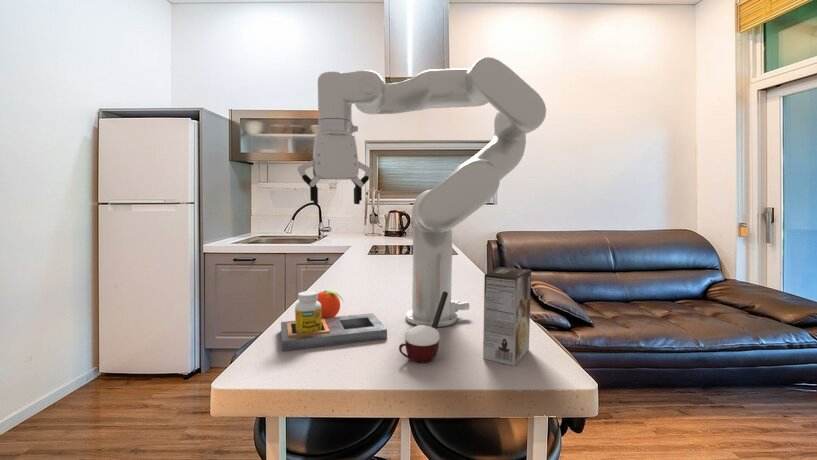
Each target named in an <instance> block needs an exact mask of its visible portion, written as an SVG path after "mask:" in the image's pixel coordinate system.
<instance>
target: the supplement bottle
mask: <svg viewBox="0 0 817 460" xmlns="http://www.w3.org/2000/svg"><path fill="white" fill-rule="evenodd" d="M318 293H319V292H317V291H314V290H306V291H301V292H299V293H298V295H297V300H298V302H297V303H296V305H295V306H294V308H295V309H294V315H295V316H294V318H295V321H296V333H304V332H314V331H322V317H321V304H320V302H318V301H317V299H318Z"/></svg>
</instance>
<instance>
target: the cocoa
mask: <svg viewBox="0 0 817 460" xmlns="http://www.w3.org/2000/svg"><path fill="white" fill-rule="evenodd" d="M447 296H448V293H447V292H445V291H444V292H443V293H442V296H441V299H440V302H439V305H438V308H437V312H436V315H435V318H434V321H433V324H432V327H431V326H425V325H415V326H413V327H411V328H409V329H407V330H406V331H405V333H404V337H405V341H404V343H401V344H400V345H399V347H398V351H399V353H400V354H401V355H402V356H404V357H405V358H407V359H410V360H412V361H414V362H416V363H422V364H423V363H424V364H425V363H428V362H431V361H433V359H435V358H436V356H437V354H438V352H439V347H440V346H439V344H440V343H439V342H440V332H439V331H438V328H439V327H438V324H439V321H440V318H441V314H442V311H443V308H444V305H445V302H446V299H447ZM403 347H405V350H406V353H404V352H403V350H402V348H403Z"/></svg>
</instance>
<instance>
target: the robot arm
mask: <svg viewBox="0 0 817 460" xmlns="http://www.w3.org/2000/svg"><path fill="white" fill-rule="evenodd" d="M353 104H354V105H355V107H356V108H357V110H358V111H360V112H361V113H364V114H366V115H396V114H404V113H409V112H417V111H423V110H428V109H445V108H473V107H481V106H484V105H487V104H490V105H491V106H492V107H494V109H495V110H497V112H496V114H495V116H494V119H493V120H494V123H493V125H494V129H493V130H494V134H493V138H492V139H491V141H490V142H489V143H487V145H486V146H484V147H483V148H482V149H481V150H480V151H478V152H477V153H476V154H474V155H473V156H472V157H471V158H469V159H467V160H466V161H465V162H463V163H461V164H459V165H458V166H457V167H456V168H455V169H454V170H453V171H452V173H451V174H450V175H449V176H448V177H446V178H445V179H444V180H442V181H441V182H440V183H439V184H437V185H436V186H435V187H433V188H432V189H427V190H424V191H423V192H421V193H420V194H418V195H417V196H416V198H415V200H414V202H413V204H412V209H411V226H412V228H411V229H412V292H411V293H412V299H411V300H412V302H411V303H412V304H411V305H412V306H411V307H412V309H411V310H408V311H407V312H406V313H405V320H406V321H407V322H408V323H410V324H413V325H415V326H418V325H425V326H431V327H432V324H433V321H434V318H435V315H436V312H437V308H438V305H439V302H440V299H441V296H442V293H443V292H444V291H445V292H447V293H448V296H447V299H446V302H445V305H444V308H443V311H442V314H441V318H440V321H439V324H438V327H437V328H441V327H447V326H451V325H453V324H455V323H457V321H458V314H457V312H459V311H468V310H470V303H469V302H468V301H464V302H460V301H459V300H455V301H454V300H453V299H452V281H453V279H452V278H453V276H452V274H453V273H452V269H453V232H452V229H454V228H455V227H457V226H458V225H460V224H461V223H462V222H463V221H465V220H466V219H468V218H469V217H470V216H472V214H474V213H475V212H476V211H478V210H479V209H480V208H482V207H483V206H484V205H485V204H487V203H488V202H489V201H490V200H491V199H492V198H493V197H494V196H495V195H496V193H497V192H498V190H499V187H500V182H501V181H502V179H503V178H504V177H506V176H507V175H508V174H509V173H510V172H512V171H513V170H514V169H515V168H516V167H517V166H518V164H520V162H521V161H522V158H523V156H524V153H525V150H526V144H527V137H526V136H527V134H530V133H532V132H533V131H536V130H537V129H538V128H539V127H540V126H542V124H543V122H544V121H545V118H546V115H547V108H546V103H545V101H544V99H543V98H542V97H541V95H540V94H539V93H538V92H537V91H536V90H535V88H532V86H530V85H529V84H528V83H527V82H526V81H525V80H524V79H522V77H521V76H519V75H518V74H517V73H516V72H514V71H513V70H512V68H510V67H509V66H508V65H506V64H505V63H503V62H502V61H500V60H499V59H497V58H494V57H491V56H490V57H489V56H487V57H486V56H485V57H481V58H479V59H477V60H476V61H475V62H474V63H473V64H472V66H471V67H470V68H450V69H449V68H446V69H445V68H444V69H442V68H440V69H438V68H437V69H428V70H424V71H422V72H420V73H418V74H417V75H415V76H413V77H411V78H409V79H406V80H404V81H399V82H391V83H385V81H384V79H383V77H382V76H381V75H380V74H379V73H377V71H373V70H367V69H364V70H358V71H357V70H356V71H350V72H349V71H348V72H339V71H326V72H322V73H321V74H319V75H318V78H317V107H318V108H317V109H318V115H317V116H318V118H317V119H318V134H316V135H314V141H313V147H312V148H313V150H312V160H310V161H308V162H305V163H303V164H301V165H300V166H298V167H297V169H296V170H297V172H298V174H299V176H300V177H301V179H302V180H303V182H304V183H305V184H307V185H308V187H309V191H310V193H309V194H310V201H311V202H313V203H312V205H316V206H317V205H318V204H319V192H318V190H319V189H318V186H317V183H318V182H319V181H320V180H346V181H347V180H348V181H349V180H350V181H351V183H353V184H354V187H353V205H360V204H361V201H362V200H363V196H362V193H363V190H362V189H363V188H362V187H364V185H365V184H366V183H367V182H369V179H370V178H371V175H372V173H373V168H371V167H370V166H367V165H366V164H364V163H362V162H360V160H359V157H358V156H359V155H358V147H357V142H356V138H355V136H354V135H353V133H358V131H359V127H358V126H357V125H354V124H353V120H352V119H353V116H352V113H353V112H352V111H353V110H352V105H353ZM311 167H312V175H313V178H310V177H309V176H308V175H307V173H306V170H308V169H310V168H311ZM359 169H360V170H361V171H363V172H364V175H363V177H361V178H360V177H358V176H359Z"/></svg>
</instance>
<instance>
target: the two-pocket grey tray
mask: <svg viewBox="0 0 817 460" xmlns="http://www.w3.org/2000/svg"><path fill="white" fill-rule="evenodd" d="M280 335H281V350H282V352H288V351H289V352H290V351H296V350H297V351H298V350H304V349H314V348H320V347H323V348H324V347H328V346H329V347H330V346H337V345H347V344H354V343H356V344H357V343H362V342H363V343H364V342H369V341H370V342H371V341H379V340H386V339H388V329H387V327H385V325H384V324H383V323H382V322H381V321H380V319H379V318H378V317H377V316H376V314H374V312H373V313H372V312H371V313H362V314H352V315H341V316H335V317H328V318H322V331H314V332H304V333H296V320H289V321H281V322H280Z"/></svg>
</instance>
